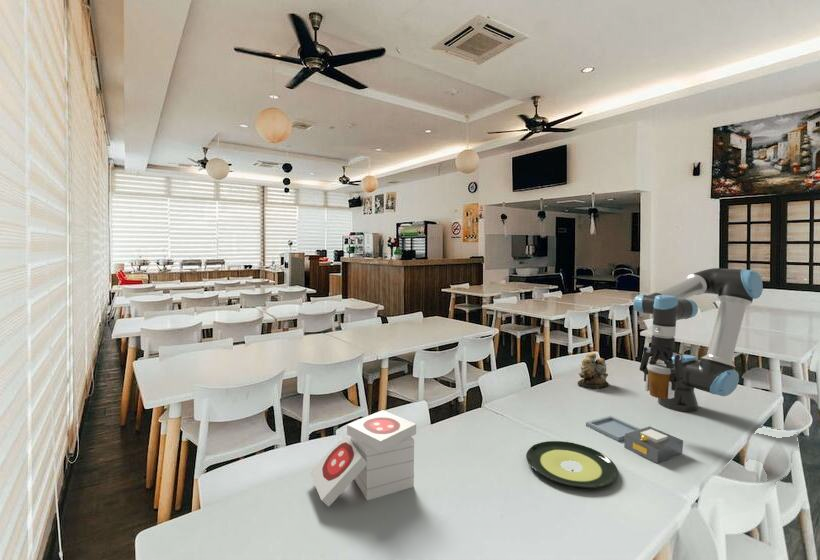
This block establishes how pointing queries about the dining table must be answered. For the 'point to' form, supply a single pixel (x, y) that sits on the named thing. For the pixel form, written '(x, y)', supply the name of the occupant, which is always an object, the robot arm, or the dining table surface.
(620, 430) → the tray
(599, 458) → the plate
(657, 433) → the button
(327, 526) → the dining table surface
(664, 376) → the disposable coffee cup
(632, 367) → the dining table surface
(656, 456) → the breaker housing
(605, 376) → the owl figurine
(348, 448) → the pizza boxes
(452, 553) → the dining table surface
